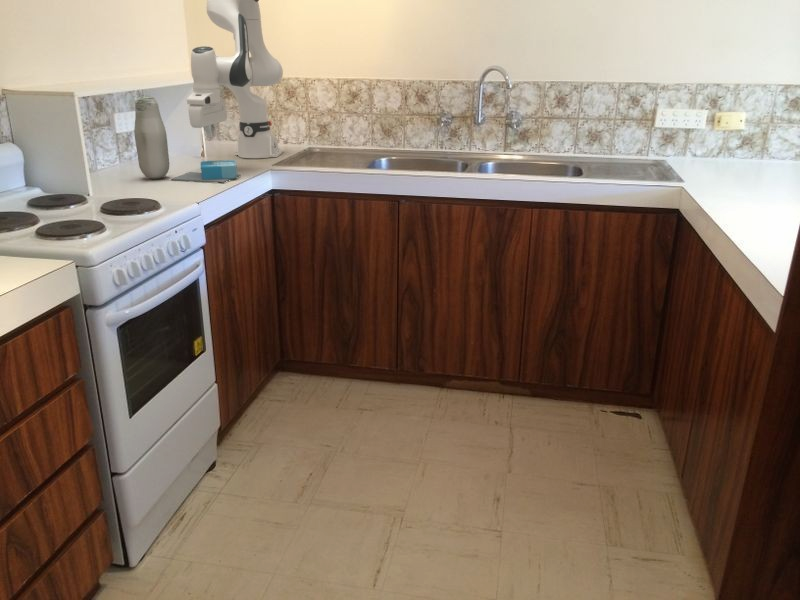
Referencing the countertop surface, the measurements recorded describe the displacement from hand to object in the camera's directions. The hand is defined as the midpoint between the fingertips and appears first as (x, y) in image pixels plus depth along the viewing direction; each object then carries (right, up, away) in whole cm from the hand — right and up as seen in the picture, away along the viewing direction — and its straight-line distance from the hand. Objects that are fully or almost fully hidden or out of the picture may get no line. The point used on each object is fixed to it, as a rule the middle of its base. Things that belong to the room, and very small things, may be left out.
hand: (211, 137), depth 239 cm
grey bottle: (-19, -15, -2) cm, 24 cm away
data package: (+1, -9, +5) cm, 11 cm away
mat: (-1, -15, -1) cm, 15 cm away
